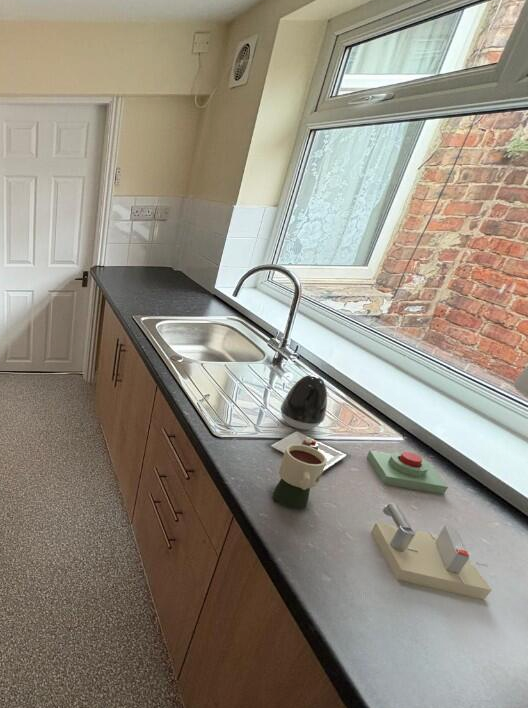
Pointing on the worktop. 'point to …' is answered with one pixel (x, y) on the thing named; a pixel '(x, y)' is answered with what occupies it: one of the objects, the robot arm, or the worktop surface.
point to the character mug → (298, 475)
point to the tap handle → (452, 549)
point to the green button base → (406, 473)
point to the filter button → (410, 459)
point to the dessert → (302, 439)
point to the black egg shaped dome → (305, 403)
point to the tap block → (428, 564)
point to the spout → (399, 528)
